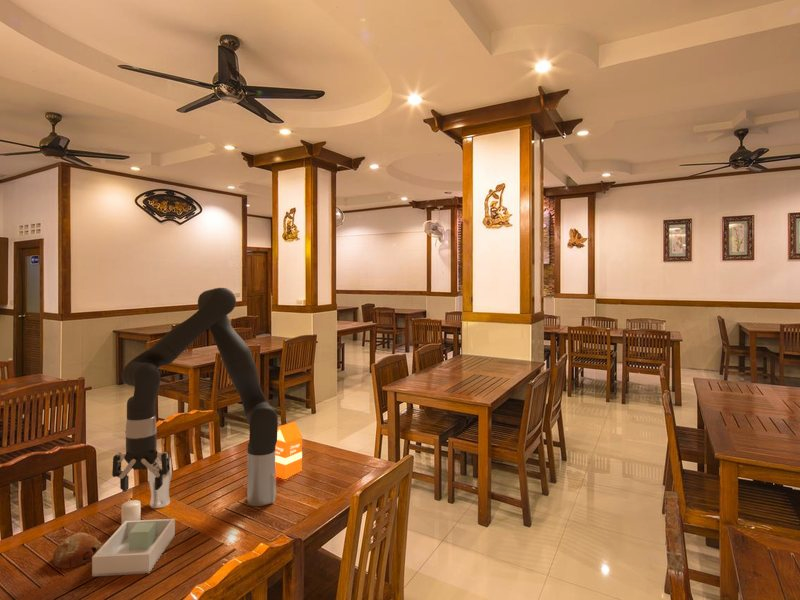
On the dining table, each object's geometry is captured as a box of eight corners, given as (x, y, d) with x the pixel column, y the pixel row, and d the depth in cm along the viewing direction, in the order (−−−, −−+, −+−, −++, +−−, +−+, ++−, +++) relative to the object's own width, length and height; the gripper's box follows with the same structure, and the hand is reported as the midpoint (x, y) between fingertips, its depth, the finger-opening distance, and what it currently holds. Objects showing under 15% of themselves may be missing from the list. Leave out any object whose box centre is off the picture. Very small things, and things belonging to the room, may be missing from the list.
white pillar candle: (143, 522, 141) (143, 499, 140) (136, 530, 136) (136, 507, 135) (126, 522, 140) (126, 500, 140) (118, 531, 135) (118, 508, 135)
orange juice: (302, 472, 179) (302, 422, 179) (285, 480, 172) (285, 428, 171) (288, 468, 183) (288, 419, 183) (271, 475, 176) (271, 424, 175)
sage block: (155, 539, 130) (155, 522, 130) (148, 549, 125) (148, 531, 125) (137, 540, 130) (137, 523, 129) (128, 550, 125) (128, 532, 124)
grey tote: (174, 535, 133) (174, 518, 133) (149, 573, 116) (149, 554, 116) (125, 537, 132) (125, 520, 132) (92, 576, 114) (92, 557, 114)
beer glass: (161, 510, 148) (161, 465, 147) (143, 507, 149) (143, 462, 149) (176, 500, 155) (176, 457, 154) (158, 498, 156) (158, 455, 156)
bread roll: (77, 559, 127) (63, 535, 126) (111, 543, 128) (98, 518, 127) (53, 583, 117) (38, 556, 117) (90, 565, 118) (76, 538, 117)
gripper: (173, 427, 132) (173, 482, 132) (120, 429, 130) (120, 485, 130) (163, 436, 124) (163, 494, 125) (107, 438, 122) (107, 497, 123)
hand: (141, 489), depth 128 cm, fingers open, 8 cm apart
